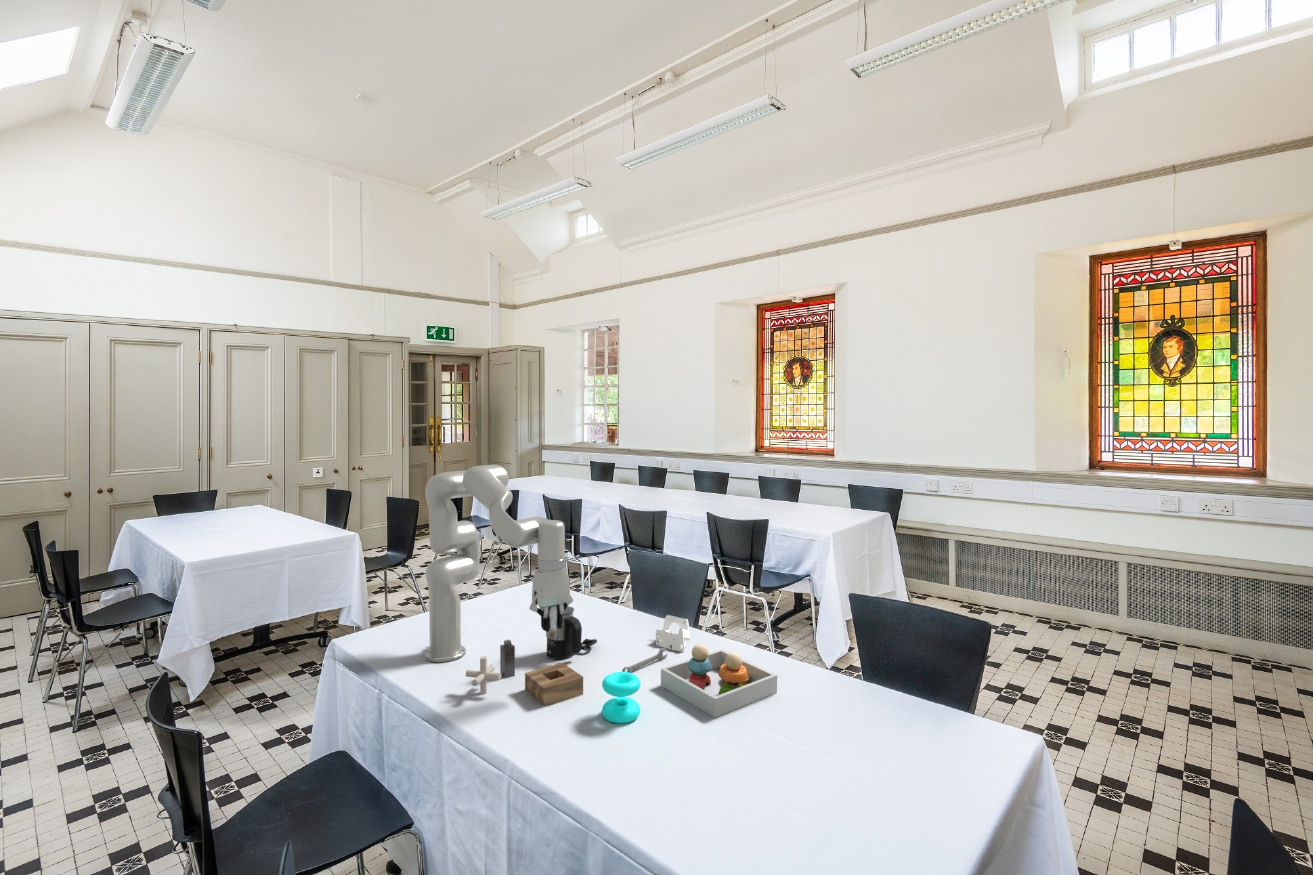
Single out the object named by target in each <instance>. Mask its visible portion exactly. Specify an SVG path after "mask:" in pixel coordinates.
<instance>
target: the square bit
mask: <svg viewBox="0 0 1313 875" xmlns="http://www.w3.org/2000/svg"><path fill="white" fill-rule="evenodd" d="M499 647H500V650H499V651H500V655H499V657H500V658H499V659H500V660H499V662H500V665H499V667H500V668H499V670H500V672H499V673H501V678H503V679H509V678H511V677H515V676H516V669H515V668H516V661H515V660H516V658H515V657H516V646H515V645H514V644H513V643H512V640H510V639H504V640H503V644H501V645H499Z"/></svg>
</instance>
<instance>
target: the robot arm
mask: <svg viewBox="0 0 1313 875" xmlns="http://www.w3.org/2000/svg"><path fill="white" fill-rule="evenodd" d="M509 481H510V480H509V473H508V471H507V470H506V469H505V467H503V466H501V465H500V464H483V465H475V466H472V467H469V468H468V469H466V470H456V471H455V470H453V471H446V472H445V471H444V472H441V473H437V474H435V475H433V476H431V477H430V478H429V480H427V483H426V485H425V490H424V493H425V494H424V495H425V500H426V504H427V507H428V508H427V509H428V523H429V524H428V525H429V526H428V527H429V529H428V530H429V545H430V549H431V551H432V552H433V553H435V554H436V555H446V554H451V553H455V552H456V553H457V554H454V555H449V556H444V557H441V558H438V559H435V560H433V561H432V562H430V563H429V564H428V565H427V567H426V570H425V580H426V584H427V589H428V601H429V603H428V606H429V608H428V609H429V611H428V612H429V648H428V649H426V650H425V652H424V659H425V660H427V661H429V662H433V663H444V662H445V663H446V662H451V661H455V660H458V659H460V658H462V657H464V655H465V654H466V652H467V649H466V647H465V646H464V645H462V643H461V638H462V637H461V634H462V633H461V628H462V627H461V625H462V624H461V623H462V621H461V620H462V618H461V616H462V615H461V614H462V613H461V611H462V610H461V597H460V595H459V593H458V592H457V590H456V589H455V586H458V585H461V584H464V583H468V582H471V581H473V580H475V578H476V577H478V575H479V572H480V537H479V532H478V529H477V527H476V525H475V524H474V523H473V522H471V521H470V520H459V521H458V511H457V508H456V505H455V504H454V502H453V501H452V500H451V499H456V498H457V499H459V498H466V497H474V498H475V500H477V501H478V502H479V503H480V504H481V505H482V506H484V507H485V509H486V510H488V520H489V523H490V526H491V529H492V531H493V532H494V533H495V535H496V536H498V538H499V539H500V540H502V542H504V543H505V544H506V545H508V546H509V547H512V548H515V549H517V548H518V549H519V548H522V547H527V546H530V545H535V544H537V569H536V570H534V574H533V577H532V578H533V579H532V586H531V587H532V588H531V589H532V590H531V603H530V605H529V610H530V611H532V612H534V613H537V614H538V615H539V616H540V627H541V629H542V630H543V631H544V632H545V633H546V632H549V617H548V607H549V606H553V605H557V614H558V628H559V629H561V628H562V614H564V610H565V609H566V608H567V606H570V605H571V604H572V603H573V602H574V599H573V597H572V595H571V590H570V589H571V588H570V578H569V573H568V569H567V567H566V564H568V563H569V558H568V557H566V544H565V543H566V542H565V541H566V539H565V538H566V536H565V535H566V528H565V527H566V526H565V523H564V522H563V521H561V520H557V519H548V518H546V517H543V516H532V517H527V518H523V519H518V520H515V519H513V518H512V517H511V516H510V515H509V513H507V512H506V510H507V509H508V508H509V507H510V505H511V504H512V502H513V493H512V491H511V490H510V489H509V488H507V486H508V484H509ZM537 606H538V607H537Z"/></svg>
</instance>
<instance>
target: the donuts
mask: <svg viewBox="0 0 1313 875" xmlns="http://www.w3.org/2000/svg"><path fill="white" fill-rule="evenodd" d="M601 686H602V689H603V692H605V693H606V694H607V695H610V696H612V698H610V699H608V700H607V701H605V702H604V704H603V706H602V709H601V714H602V715H603V718H605V719H606V721H609V722H611V723H615V724H626V723H630V722H633V721H635V720H636V719H637V718H638V717H639V715H640V714H641V706H640V705H639V703H638V701H636V700H634V699H633V698H631V697H630V696H632V695H634V694H635V693H637V692H638V691H639V689H640V688H641V679H640V678H639V677H638V675H636V674H634V673H632V672H630V673H629V672H627V671H625V672H622V671H615V672H612V673H609V674H608V675H606V676H605V677H604V678H603V680H602V683H601Z"/></svg>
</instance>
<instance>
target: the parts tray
mask: <svg viewBox="0 0 1313 875" xmlns="http://www.w3.org/2000/svg"><path fill="white" fill-rule="evenodd" d="M728 654H730V653H729V652H727V651H726V650H723V649H719V650H715V651H712V652H710V653H709V652H708V656H707V658H708V660H709V662H710V664H711V667H712V668H711V670H710V671H713V670H715V669H720V667H721V666H722V665H723V664H725V658H726V656H727V655H728ZM741 659H742V658H741ZM690 660H691V658H690V659H686V660H684V661H681V662H678V663H674V664H671V665H668V666H665V667H662V668H660V686H661V687H662V688H665V689H666V690H668V691H669V692H671V693H673V694H674V695H676V696H678V697H680V698H682V699H683V700H685V701H686V702H688V703H689V704H690V705H693V706H695V707H696V708H698V709H700V710H701V711H703V712H704V713H706V714H708V715H709V716H711V717H712V718H714V719H716V718H719V717H721V716H723V715H725V714H729V713H730V712H733V711H735V710H738V709H739V708H742V707H745V706H748V705H750V704H752V703H755V702H757V701H761V700H762V699H764V698H767V697H769V696H772V695H774V694H777V693H778V675H777V674H775V673H773V672H771V671H769V670H767V669H764V668H762V667H760V666H758V665H755V664H754V663H751V662H750V661H747V660H745V659H742V666H744V667H745V668H746V670H747V674H748V675H749V681H748V682H750V681H751V682H750V683H748V684H747V685H744V686H742V687H739V688H737V689H734V690H731V691H729V692H726V693H723V694H721V695H718V694H717V695H714V694H712V693H710V692H708V691H706V690H705V689H704V690H703V689H701V688H699V687H697V686H696V685H694V684H692V683H690V682H688V681H689V680H687V679H689V678H690V676H691V674H692V672H691V671H690V670H689V669H688V664H689V662H690ZM710 671H709V672H710Z"/></svg>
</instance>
